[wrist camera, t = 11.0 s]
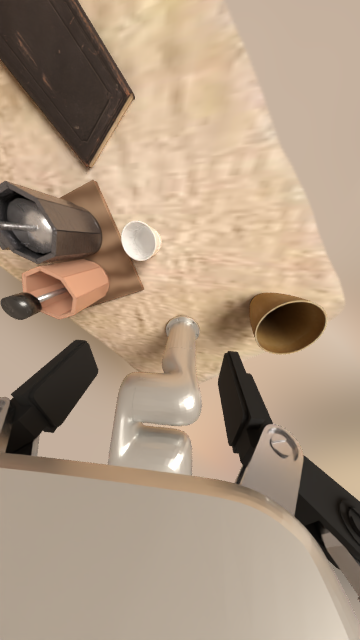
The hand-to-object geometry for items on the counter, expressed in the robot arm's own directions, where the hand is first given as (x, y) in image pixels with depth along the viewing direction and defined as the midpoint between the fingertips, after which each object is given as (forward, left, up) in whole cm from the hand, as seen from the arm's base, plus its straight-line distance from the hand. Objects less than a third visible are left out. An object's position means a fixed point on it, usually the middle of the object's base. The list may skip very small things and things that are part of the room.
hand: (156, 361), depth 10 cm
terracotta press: (+6, +31, -37) cm, 48 cm away
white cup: (+10, +7, -39) cm, 40 cm away
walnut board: (+12, +27, -38) cm, 48 cm away
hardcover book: (+42, +11, -39) cm, 58 cm away
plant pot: (-18, -21, -39) cm, 47 cm away
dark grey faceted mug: (+18, +26, -37) cm, 48 cm away
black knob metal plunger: (+6, +29, -33) cm, 44 cm away
